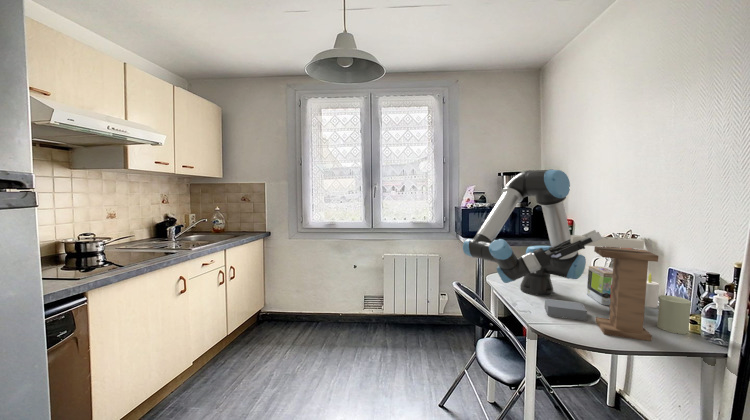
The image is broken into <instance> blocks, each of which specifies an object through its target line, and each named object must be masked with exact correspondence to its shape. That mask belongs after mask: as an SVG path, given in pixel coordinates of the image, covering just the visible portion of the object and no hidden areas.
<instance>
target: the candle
mask: <svg viewBox="0 0 750 420" xmlns="http://www.w3.org/2000/svg"><path fill="white" fill-rule="evenodd" d="M652 279H653V278H652V273H651V272H649V274H648V275H647V284H646V297H645V307H646V308H650V309H651V308H652V309H653V308H655V309H656V308H659V296H660V283H659V282H656V281H653V280H652Z"/></svg>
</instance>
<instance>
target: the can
mask: <svg viewBox="0 0 750 420" xmlns="http://www.w3.org/2000/svg"><path fill="white" fill-rule="evenodd" d="M691 305H692V301H691V300H690V299H688V298H684V297H681V296H675V295H667V294H666V295H665V294H663V295H658V311H657V312H658V313H657V322H656V326H657V328H659V329H661V330H663V331H665V332H668V333H673V334H677V333H678V335H686V333H688V332H689V333H690V320H691V319H690V318H691V317H690V316H691V309H692V307H691ZM689 333H688V334H689Z"/></svg>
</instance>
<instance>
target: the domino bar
mask: <svg viewBox="0 0 750 420" xmlns="http://www.w3.org/2000/svg"><path fill="white" fill-rule="evenodd" d="M570 236H571V240H570V243H571V244H572V243H574V242H577V241H579V240H580V239H582V238H585V237H587V236H582V235H578V234H577V235H575V234H570ZM601 237H602V238H603V239H601V240H598V241H596V242H593V243H591V244H589V245H586V246H588V247H589V246H590V247H595V246H598V247H612V248H633V249H642V250H645V249H644V247H645V240H644V239H640V238H630V237H615V236H614V237H613V236H610V237H609V236H601Z"/></svg>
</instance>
